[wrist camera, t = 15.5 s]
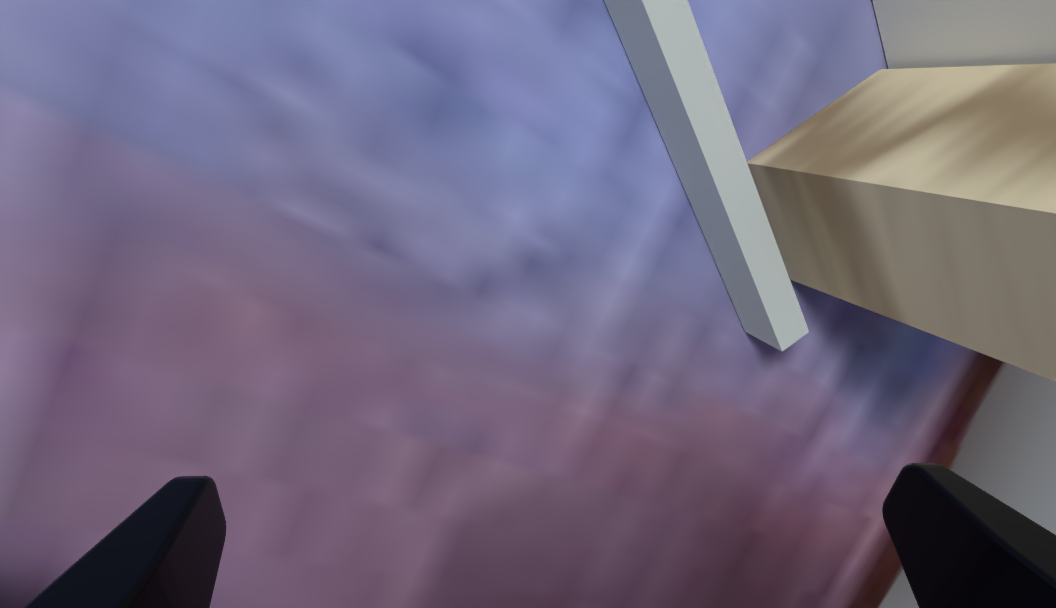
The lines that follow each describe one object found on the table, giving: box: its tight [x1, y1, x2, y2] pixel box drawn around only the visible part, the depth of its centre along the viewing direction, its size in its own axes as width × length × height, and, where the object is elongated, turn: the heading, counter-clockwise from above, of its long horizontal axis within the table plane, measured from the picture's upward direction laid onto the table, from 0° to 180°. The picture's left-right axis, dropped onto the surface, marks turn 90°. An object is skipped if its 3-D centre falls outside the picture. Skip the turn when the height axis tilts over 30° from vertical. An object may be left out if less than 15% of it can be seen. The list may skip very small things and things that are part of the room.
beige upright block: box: [747, 63, 1056, 382], centre depth 18 cm, size 6×5×11 cm
